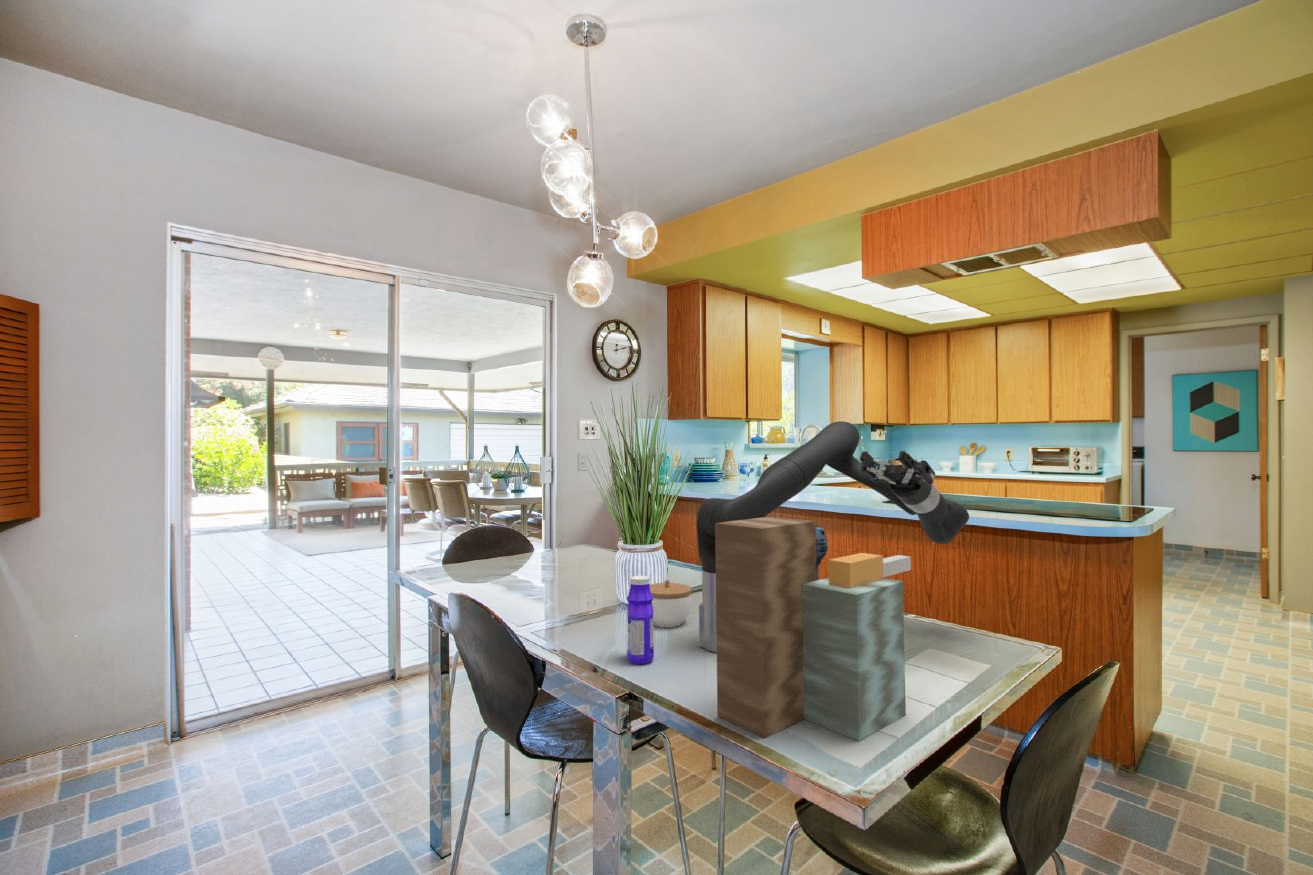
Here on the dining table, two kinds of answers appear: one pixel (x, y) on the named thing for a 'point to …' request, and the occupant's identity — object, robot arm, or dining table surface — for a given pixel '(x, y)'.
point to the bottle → (640, 621)
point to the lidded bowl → (670, 603)
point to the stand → (802, 636)
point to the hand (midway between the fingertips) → (881, 454)
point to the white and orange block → (865, 568)
